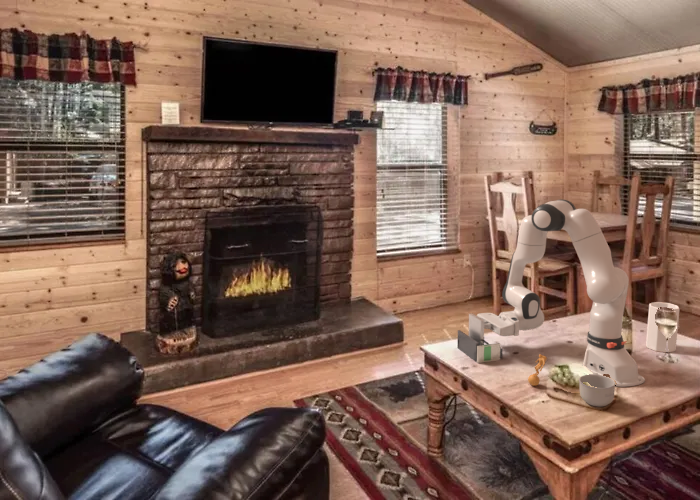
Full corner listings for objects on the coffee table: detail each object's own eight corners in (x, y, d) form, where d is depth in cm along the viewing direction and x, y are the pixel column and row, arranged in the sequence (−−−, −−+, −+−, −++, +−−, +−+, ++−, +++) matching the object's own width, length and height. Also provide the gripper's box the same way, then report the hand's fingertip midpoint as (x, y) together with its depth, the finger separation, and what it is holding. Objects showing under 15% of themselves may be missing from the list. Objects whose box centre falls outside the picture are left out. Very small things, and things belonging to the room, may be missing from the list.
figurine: (526, 380, 193) (527, 349, 190) (543, 380, 192) (544, 350, 189) (529, 390, 185) (531, 358, 182) (547, 391, 184) (549, 359, 181)
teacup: (611, 413, 167) (612, 390, 166) (575, 405, 173) (576, 382, 172) (616, 395, 179) (618, 374, 177) (582, 388, 185) (583, 367, 183)
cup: (650, 341, 227) (654, 300, 224) (679, 347, 219) (683, 305, 216) (641, 348, 220) (644, 305, 216) (670, 355, 212) (675, 311, 208)
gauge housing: (504, 359, 212) (505, 340, 210) (478, 363, 208) (478, 344, 207) (482, 344, 228) (482, 327, 227) (457, 347, 225) (457, 330, 224)
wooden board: (489, 356, 210) (489, 323, 207) (485, 357, 209) (486, 324, 207) (471, 344, 223) (472, 313, 221) (468, 344, 223) (469, 313, 220)
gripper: (494, 308, 230) (466, 311, 226) (521, 322, 210) (490, 326, 207) (494, 321, 231) (465, 325, 227) (520, 337, 211) (490, 341, 208)
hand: (477, 325), depth 217 cm, fingers closed, pressing on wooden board
